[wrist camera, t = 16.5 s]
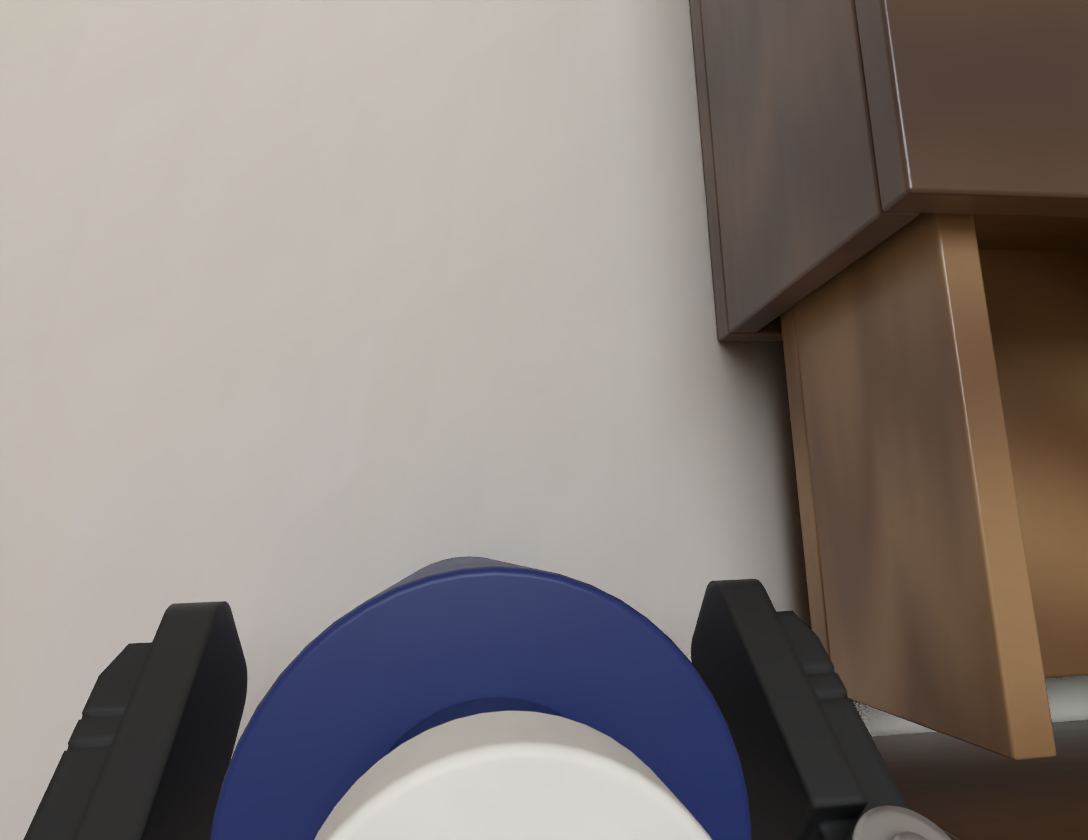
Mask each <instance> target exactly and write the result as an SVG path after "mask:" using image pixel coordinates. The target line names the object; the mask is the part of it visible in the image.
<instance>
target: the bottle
mask: <svg viewBox="0 0 1088 840" xmlns="http://www.w3.org/2000/svg"><path fill="white" fill-rule="evenodd" d="M210 840H751V822H750V813H749V803H748V794H747V789H746V784H745V780H744V776H743V771H742V767H741V763H740V758H739V755H738V752H737V749H736V747H735V744H734V741H733V738H732V735H731V733H730V730H729V727H728V724H727V722H726V720H725V718H724V716H723V714H722V712H721V710H720V708H719V706H718V704H717V702H716V700H715V698H714V696H713V694H712V692H711V691H710V689H709V688H708V686H707V685H706V683H705V682H704V680H703V679H702V677H701V676H700V674H699V673H698V671H697V670H696V668H695V667H694V665H693V664H692V663H691V662H690V661H689V660H688V658H687V657H686V656H685V655H684V654H683V653H682V651H681V650H680V649H679V648H678V647H677V646H676V645H675V643H674V642H673V641H672V640H671V639H670V638H669V637H668V636H667V635H665V634H664V633H663V632H662V631H661V630H660V629H659V628H658V627H657V626H655V625H654V624H653V623H652V622H651V621H650V620H649V619H648V618H646V617H645V616H643V615H642V614H640V613H639V612H638V611H636V610H635V609H633V608H632V607H630V606H629V605H627V604H626V603H624V602H623V601H621V600H620V599H618V598H616V597H614V596H612V595H610V594H608V593H606V592H604V591H602V590H600V589H598V588H596V587H594V586H592V585H590V584H587V583H584V582H581V581H578V580H575V579H572V578H569V577H566V576H564V575H561V574H556V573H552V572H547V571H542V570H538V569H533V568H529V567H524V566H519V565H515V564H510V563H506V562H501V561H496V560H492V559H487V558H481V557H457V558H451V559H446V560H442V561H439V562H436V563H433V564H431V565H429V566H427V567H424V568H422V569H420V570H418V571H417V572H415V573H413V574H412V575H410V576H408V577H407V578H405V579H403V580H401V581H400V582H398V583H396V584H395V585H393V586H391V587H389V588H388V589H386V590H384V591H383V592H381V593H379V594H378V595H376V596H374V597H372V598H371V599H369V600H367V601H366V602H364V603H362V604H361V605H359V606H358V607H356V608H355V609H353V610H352V611H350V612H349V613H347V614H346V615H344V616H343V617H341V618H340V619H338V620H337V621H335V622H334V623H333V624H332V625H330V626H329V627H328V628H327V629H326V630H325V631H323V632H322V633H321V634H320V635H319V636H318V637H316V638H315V639H314V640H313V641H312V642H311V643H309V644H308V645H307V646H306V647H305V648H304V649H303V650H302V651H301V652H300V654H299V655H298V656H297V657H296V658H295V659H294V660H293V661H292V662H291V663H290V664H289V666H288V667H287V668H286V669H285V670H284V671H283V672H282V673H281V674H280V676H279V677H278V678H277V680H276V681H275V683H274V684H273V685H272V687H271V688H270V690H269V691H268V692H267V694H266V695H265V697H264V698H263V699H262V701H261V702H260V704H259V705H258V706H257V708H256V710H255V712H254V714H253V716H252V717H251V719H250V721H249V723H248V725H247V727H246V728H245V730H244V732H243V734H242V736H241V738H240V739H239V741H238V744H237V746H236V749H235V751H234V754H233V756H232V759H231V761H230V764H229V766H228V769H227V771H226V774H225V776H224V779H223V783H222V787H221V790H220V794H219V798H218V802H217V805H216V809H215V813H214V817H213V823H212V830H211V837H210Z"/></svg>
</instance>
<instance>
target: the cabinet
mask: <svg viewBox="0 0 1088 840" xmlns="http://www.w3.org/2000/svg"><path fill="white" fill-rule="evenodd" d="M690 7H691V19H692V31H693V43H694V55H695V67H696V79H697V91H698V103H699V115H700V126H701V138H702V150H703V162H704V174H705V186H706V198H707V210H708V222H709V234H710V246H711V258H712V270H713V282H714V293H715V305H716V317H717V329H718V340H719V341H783V338H782V328H781V318H780V315H781V314H782V313H784V312H785V311H786V310H788V309H789V308H791V307H792V306H793V305H795V304H796V303H797V302H799V301H800V300H802V299H803V298H804V297H806V296H807V295H809V294H810V293H811V292H813V291H814V290H816V289H817V288H818V287H820V286H821V285H823V284H824V283H825V282H827V281H828V280H829V279H831V278H832V277H834V276H835V275H836V274H838V273H839V272H841V271H842V270H843V269H845V268H846V267H848V266H849V265H850V264H852V263H853V262H855V261H856V260H857V259H859V258H860V257H861V256H863V255H864V254H866V253H867V252H868V251H870V250H871V249H873V248H874V247H875V246H877V245H878V244H880V243H881V242H882V241H884V240H885V239H887V238H888V237H889V236H891V235H892V234H893V233H895V232H896V231H898V230H899V229H900V228H902V227H903V226H905V225H906V224H907V223H909V222H910V221H912V220H913V219H914V218H916V217H917V216H918V215H919V213H937V214H974V215H1011V216H1048V217H1085V218H1088V0H690Z"/></svg>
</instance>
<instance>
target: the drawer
mask: <svg viewBox="0 0 1088 840" xmlns="http://www.w3.org/2000/svg"><path fill="white" fill-rule="evenodd" d="M780 318H781V328H782V338H783V348H784V358H785V368H786V378H787V388H788V398H789V408H790V418H791V428H792V438H793V448H794V457H795V467H796V477H797V487H798V497H799V507H800V517H801V527H802V537H803V547H804V557H805V567H806V577H807V587H808V597H809V607H810V617H811V626H812V631H813V632H814V633H815V634H816V635H817V636H818V637H819V639H820V641H821V643H822V644H823V646H824V648H825V650H826V652H827V654H828V656H829V658H830V660H831V662H832V663H833V665H834V671H835V673H838V675H839V677H840V679H841V680H842V682H843V684H844V686H845V688H846V690H847V696H848V698H851V699H852V700H854V701H857V702H860V703H862V704H865V705H868V706H871V707H873V708H876V709H879V710H881V711H884V712H887V713H889V714H892V715H895V716H897V717H900V718H903V719H906V720H908V721H911V722H914V723H916V724H919V725H922V726H924V727H927V728H930V729H932V730H935V731H938V732H927V733H914V734H901V735H889V736H876V737H872V739H873V741H874V743H875V745H876V747H877V749H878V751H879V752H880V754H881V756H882V758H883V760H884V762H885V764H886V766H887V768H888V769H889V771H890V773H891V775H892V777H893V779H894V781H895V783H896V785H897V786H898V788H899V790H900V792H901V794H902V795H903V797H904V799H905V800H906V802H907V803H908V804H909V806H910V807H911V808H912V810H913V811H914V812H916V813H918V814H920V815H922V816H924V817H926V818H927V819H929V820H930V821H932V822H933V823H934V824H936V825H937V826H938V827H939V828H940V829H941V830H943V831H944V832H945V833H946V834H947V835H948V836H949V838H950V839H951V840H1088V720H1081V721H1068V722H1055V723H1052V721H1051V715H1050V708H1049V702H1048V695H1047V689H1046V683H1045V678H1058V677H1072V676H1087V675H1088V218H1085V217H1048V216H1011V215H974V214H937V213H919V215H918V216H917V217H916V218H914V219H913V220H912V221H910V222H909V223H907V224H906V225H905V226H903V227H902V228H900V229H899V230H898V231H896V232H895V233H893V234H892V235H891V236H889V237H888V238H887V239H885V240H884V241H882V242H881V243H880V244H878V245H877V246H875V247H874V248H873V249H871V250H870V251H868V252H867V253H866V254H864V255H863V256H861V257H860V258H859V259H857V260H856V261H855V262H853V263H852V264H850V265H849V266H848V267H846V268H845V269H843V270H842V271H841V272H839V273H838V274H836V275H835V276H834V277H832V278H831V279H829V280H828V281H827V282H825V283H824V284H823V285H821V286H820V287H818V288H817V289H816V290H814V291H813V292H811V293H810V294H809V295H807V296H806V297H804V298H803V299H802V300H800V301H799V302H797V303H796V304H795V305H793V306H792V307H791V308H789V309H788V310H786V311H785V312H784V313H782V314H781V315H780Z"/></svg>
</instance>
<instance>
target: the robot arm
mask: <svg viewBox="0 0 1088 840" xmlns="http://www.w3.org/2000/svg"><path fill="white" fill-rule="evenodd" d="M691 660H692V664H693V665H694V667H695V668H696V670H697V671H698V673H699V674H700V676H701V677H702V679H703V680H704V682H705V683H706V685H707V686H708V688H709V689H710V691H711V692H712V694H713V696H714V698H715V700H716V702H717V704H718V706H719V708H720V710H721V712H722V714H723V716H724V718H725V720H726V722H727V724H728V727H729V730H730V733H731V735H732V738H733V741H734V744H735V747H736V749H737V752H738V755H739V758H740V763H741V767H742V771H743V776H744V780H745V784H746V789H747V794H748V803H749V813H750V822H751V840H951V839H950V838H949V836H948V835H947V834H946V833H945V832H944V831H943V830H941V829H940V828H939V827H938V826H937V825H936V824H934V823H933V822H932V821H930V820H929V819H927V818H926V817H924V816H922V815H920V814H918V813H916V812H914V811H913V810H912V808H911V807H910V806H909V804H908V803H907V802H906V800H905V799H904V797H903V795H902V794H901V792H900V790H899V788H898V786H897V785H896V783H895V781H894V779H893V777H892V775H891V773H890V771H889V769H888V768H887V766H886V764H885V762H884V760H883V758H882V756H881V754H880V752H879V751H878V749H877V747H876V745H875V743H874V741H873V739H872V737H871V735H870V733H869V732H868V730H867V728H866V726H865V724H864V722H863V720H862V718H861V716H860V715H859V713H858V711H857V709H856V707H855V705H854V703H853V701H852V699H851V698H848V696H847V690H846V688H845V686H844V684H843V682H842V680H841V679H840V677H839V675H838V673H835V671H834V665H833V663H832V662H831V660H830V658H829V656H828V654H827V652H826V650H825V648H824V646H823V644H822V643H821V641H820V639H819V637H818V636H817V635H816V634H815V633H814V632H813V631H812V630H811V629H810V628H809V627H808V626H807V625H806V624H805V623H804V622H803V621H802V620H801V619H800V618H799V617H798V616H797V615H796V614H795V613H794V612H793V611H783V612H776V611H775V608H774V606H773V604H772V602H771V600H770V598H769V596H768V594H767V592H766V590H765V588H764V586H763V585H762V584H761V582H760V581H758V580H756V579H744V580H722V581H711V582H710V583H709V584H708V586H707V588H706V592H705V595H704V599H703V603H702V606H701V610H700V613H699V617H698V620H697V624H696V628H695V631H694V635H693V638H692V644H691ZM246 693H247V667H246V662H245V658H244V655H243V651H242V647H241V644H240V640H239V637H238V633H237V629H236V626H235V622H234V619H233V615H232V612H231V608H230V606H229V604H228V603H227V602H225V601H224V602H202V603H180V604H172V605H170V606H169V607H168V608H167V610H166V612H165V613H164V616H163V618H162V620H161V623H160V625H159V628H158V630H157V633H156V635H155V637H154V640H153V642H152V643H134V644H128V645H127V646H126V648H125V649H124V650H123V651H122V652H121V653H120V654H119V655H118V656H117V657H116V658H115V659H114V660H113V661H112V663H111V664H110V665H109V666H108V667H107V668H106V669H105V670H104V671H103V672H102V673H101V674H100V675H99V677H98V679H97V681H96V684H95V686H94V688H93V690H92V692H91V694H90V697H89V699H88V701H87V703H86V705H85V707H84V710H83V712H82V719H81V720H78V723H77V725H76V727H75V729H74V731H73V733H72V736H71V738H70V740H69V742H68V749H67V751H64V753H63V755H62V757H61V759H60V762H59V764H58V766H57V768H56V770H55V772H54V775H53V777H52V779H51V781H50V783H49V785H48V788H47V790H46V792H45V794H44V796H43V798H42V801H41V803H40V805H39V807H38V809H37V812H36V814H35V816H34V818H33V820H32V822H31V825H30V827H29V829H28V831H27V833H26V835H25V838H24V840H210V837H211V830H212V823H213V817H214V813H215V809H216V805H217V802H218V798H219V794H220V790H221V787H222V783H223V779H224V776H225V774H226V771H227V769H228V766H229V764H230V760H231V756H232V753H233V749H234V745H235V741H236V737H237V733H238V729H239V725H240V721H241V717H242V714H243V710H244V705H245V700H246Z"/></svg>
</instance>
